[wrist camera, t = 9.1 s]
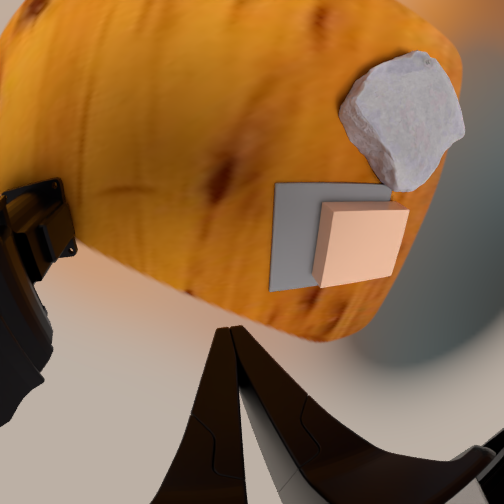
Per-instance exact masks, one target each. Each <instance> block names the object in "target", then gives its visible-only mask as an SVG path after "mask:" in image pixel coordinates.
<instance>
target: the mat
mask: <svg viewBox="0 0 504 504" xmlns="http://www.w3.org/2000/svg"><path fill="white" fill-rule="evenodd" d="M391 192H392V190H391V189H390V188H389V187H387V186H386V185H385V184H373V183H336V182H295V183H275V194H274V213H273V231H272V248H271V264H270V280H269V292H274V291H281V290H289V289H296V288H303V287H310V286H316V285H318V283H317V282H316V280H315V279H314V277H313V276H312V271H313V264H314V258H315V252H316V245H317V238H318V231H319V224H320V216H321V208H322V202H356V201H390V197H391Z"/></svg>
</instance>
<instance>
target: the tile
mask: <svg viewBox="0 0 504 504" xmlns="http://www.w3.org/2000/svg"><path fill="white" fill-rule="evenodd" d="M408 214H409V209H407V208H406V207H404V206H403V205H401V204H399V203H398V202H396V201H356V202H322V208H321V216H320V224H319V231H318V238H317V245H316V252H315V258H314V264H313V271H312V276H313V277H314V279H315V280H316V282H317V283H318V285H319V286H320V288H323V287H330V286H336V285H342V284H348V283H354V282H360V281H365V280H371V279H376V278H382V277H387V276H391V274H392V271H393V268H394V265H395V261H396V258H397V255H398V252H399V248H400V245H401V241H402V238H403V234H404V230H405V226H406V222H407V218H408Z"/></svg>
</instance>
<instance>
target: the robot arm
mask: <svg viewBox="0 0 504 504" xmlns="http://www.w3.org/2000/svg"><path fill="white" fill-rule="evenodd" d="M54 182H56V183H57V187H55V186H54ZM6 196H7V198H6ZM74 234H75V232H74V228H73V224H72V220H71V216H70V211H69V207H68V204H67V203H66V201H65V196H64V191H63V186H62V182H61V180H60V179H59V178H52V179H47V180H43V181H39V182H35V183H31V184H28V185H24V186H20V187H17V188H13V189H10V190H7V191H5V192H3V193H2V196H0V427H1V426H3V425H4V424H6V423H7V422H9V421H10V420H11V418H12V416H13V415H14V413H15V411H16V409H17V407H18V405H19V404H20V402H21V401H22V400H23V398H24V397H25V396H26V395H27V394H28V393H29V392H30V391H31V390H32V389H34V388H36V387H37V386H39V385H40V384H42V383H43V382H44V378H43V376H42V375H41V374H40V372H41V371H42V370H43V368H44V367H45V365H46V364H47V363H48V361H49V359H50V357H51V354H52V352H53V346H52V345H51V344H52V336H53V330H52V327H51V323H50V321H49V319H48V317H47V310H46V308H45V306H43V305H42V303H41V301H40V299H39V297H38V294H37V292H36V290H35V288H34V284H35V283H36V282H37V281H42V279H43V277H44V276H45V274H46V273H47V271H48V269H49V268H50V266H51V265H52V263H55V262H56V261H57V259H58V258H63V257H70V256H74V255H75V254H76V253H77V250H78V249H77V245H76V241H75V238H74ZM70 248H72V249H73V251H71V250H70ZM239 392H240V395H241V398H242V401H243V404H244V406H245V409H246V412H247V415H248V418H249V420H250V423H251V426H252V429H253V431H254V434H255V437H256V439H257V442H258V445H259V447H260V450H261V452H262V455H263V457H264V460H265V462H266V465H267V467H268V470H269V472H270V475H271V477H272V480H273V482H274V485H275V487H276V489H277V492H278V494H279V496H280V499H281V501H282V503H283V504H504V428H503V429H502V430H500V431H499V432H498V433H497V434H495V435H494V436H493V437H492V438H490V439H489V440H488V441H487V442H486V443H485V444H483V445H482V446H478V445H474V446H472V447H470V448H468V449H467V450H465V451H464V452H462V453H461V454H460V455H458V456H456V457H455V458H453V459H452V460H450V461H436V460H429V459H422V458H416V457H410V456H405V455H399V454H394V453H391V452H387V451H384V450H382V449H380V448H378V447H376V446H374V445H372V444H371V443H369V442H368V441H366V440H365V439H363V438H362V437H360V436H359V435H357V434H356V433H354V432H353V431H352V430H350V429H349V428H347V427H346V426H345V425H343V424H342V423H340V422H339V421H338V420H337V419H335V418H334V417H333V416H331V415H330V414H329V413H328V412H327V411H326V410H324V409H323V408H322V407H321V406H320V405H319V404H318V403H317V402H316V401H315V400H314V399H313V398H311V396H308V394H307V393H306V392H305V391H304V390H303V389H302V388H301V387H300V386H299V385H298V384H297V383H296V382H295V380H294V379H293V378H292V377H291V376H290V375H289V374H288V373H286V371H285V370H284V369H283V368H282V367H281V366H280V365H279V364H278V363H277V362H276V361H275V360H274V359H273V358H272V357H271V356H270V355H269V354H268V352H267V351H265V349H264V348H263V347H262V346H261V345H260V344H259V343H258V342H257V341H256V340H255V338H253V336H252V335H251V334H250V333H249V332H248V331H247V330H246V329H245V328H244V327H243V326H242V325H239V326H231V327H230V328H229V327H223V328H217V329H216V332H215V335H214V338H213V341H212V344H211V348H210V351H209V354H208V358H207V361H206V364H205V367H204V371H203V374H202V377H201V380H200V384H199V387H198V390H197V394H196V397H195V400H194V404H193V407H192V410H191V415H190V417H189V420H188V423H187V427H186V430H185V433H184V435H183V439H182V441H181V444H180V446H179V448H178V450H177V453H176V455H175V457H174V459H173V461H172V464H171V466H170V468H169V470H168V472H167V474H166V476H165V478H164V480H163V482H162V484H161V487H160V488H159V490H158V492H157V494H156V495H155V497H154V498H153V500H152V501H151V503H150V504H248V502H247V493H246V482H245V470H244V469H245V468H244V457H243V443H242V429H241V415H240V400H239Z"/></svg>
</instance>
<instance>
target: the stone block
mask: <svg viewBox="0 0 504 504" xmlns="http://www.w3.org/2000/svg"><path fill="white" fill-rule="evenodd" d="M339 118H340V121H341V122H342V124H343V126H344V128H345V131H346V133H347V136H348V137H349V140H350V141H351V142H352V143H353V144H354V145H355V146H356V147H357V148H358V149H359V152H361V153H362V154H364V155H365V157H366V159H367V160H368V162H369V164H370V166H371V168H372V169H373V171H374V172H375V174H376V175H377V177H378V178H379V179H380V181H381V182H382V183H383V184H385V185H386V186H387V187H389V188H390V189H391V190H393V191H395V192H399V191H401V192H410V191H414V190H415V189H416V188H418V187H419V186H420V185H422V184H424V183H425V182H426V180H427V179H428V178H429V177H430V176H431V174H432V173H433V172H434V171H435V169H436V168H437V166H438V165H439V162H440V159H441V157H442V155H443V153H444V152H445V151H446V149H448V148H449V147H450V146H451V145H452V143H453V142H455V141H457V140H459V139H461V138H462V137H463V136H464V134H465V126H464V122H463V117H462V112H461V108H460V105H459V103H458V99H457V96H456V93H455V91H454V88H453V86H452V84H451V81H450V79H449V77H448V76H447V74H446V73H445V71H444V70H443V68H442V67H441V66H440V64H439V63H438V61H437V60H436V59H435V58H431V57H430V56H429V55H428V54H427V53H426V52H421V51H418V50H417V51H412V52H410V53H407V54H405V55H403V56H401V57H395V58H394V59H392V60H390V61H387V62H383V63H381V64H379V65H377V66H375V67H373V68H372V69H370V70H369V71H368V73H367V74H366V75H363V76H362V77H361V78H360V79H358V80H356V81H355V83H354V84H353V87H352V89H351V90H350V92H349V93H348V95H347V97H346V99H345V101H344V102H343V104H342V105H341V107H340V111H339Z"/></svg>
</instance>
